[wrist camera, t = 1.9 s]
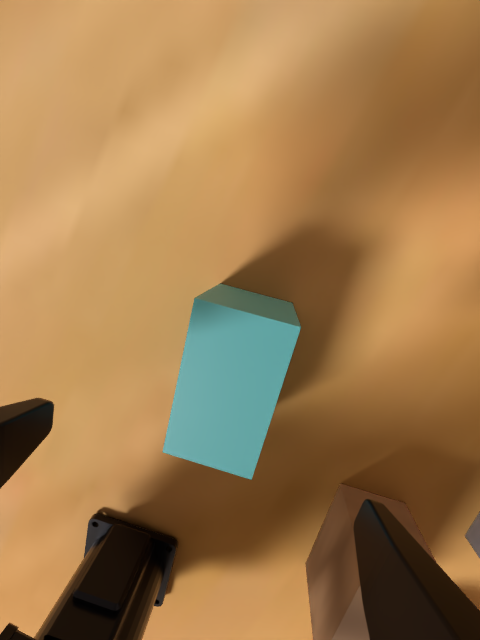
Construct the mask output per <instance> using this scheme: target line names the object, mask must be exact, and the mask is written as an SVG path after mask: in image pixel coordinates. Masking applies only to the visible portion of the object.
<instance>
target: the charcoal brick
mask: <svg viewBox="0 0 480 640" xmlns="http://www.w3.org/2000/svg"><path fill="white" fill-rule="evenodd" d="M465 537H466V539H467V540H468V542H469V543H470V545H471V546H472V548H473V549H474V551H475V552H476V553H477V555H478V556H479V558H480V512H479V514H478V515H477V517H476V518H475V520H474V522H473V523H472V525H471V526H470V528H469V530H468V531H467V533H466V534H465Z"/></svg>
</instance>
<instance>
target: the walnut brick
mask: <svg viewBox="0 0 480 640" xmlns="http://www.w3.org/2000/svg"><path fill="white" fill-rule="evenodd" d="M365 499H372V500H375V501H379V502H381V503H383V504H384V505H385V506H386V507H387V508H388V510H389V511H390V512H391V513H392V514H393V515H394V516H395V517H396V518H397V520H398V521H399V522H400V523H401V524H402V525H403V526H404V527H405V528H406V530H407V531H408V532H409V533H410V534H411V535H412V536H413V537H414V538H415V540H416V541H417V542H418V543H419V544H420V545H421V546H422V547H423V548H424V550H425V551H426V552H427V553H428V554H429V555H430V556H431V557H432V558H433V560H434V561H435V559H434V557H433V555H432V553H431V551H430V550H429V548H428V546H427V544H426V542H425V540H424V538H423V536H422V534H421V532H420V530H419V529H418V527H417V525H416V523H415V521H414V519H413V517H412V515H411V513H410V511H409V509H408V507H407V506H406V504H405V503H403V502H400V501H396V500H393V499H390V498H387V497H383V496H380V495H377V494H374V493H370V492H367V491H364V490H360V489H357V488H354V487H351V486H347V485H344V484H341V483H340V485H339V487H338V490H337V492H336V494H335V497H334V499H333V501H332V503H331V506H330V508H329V510H328V513H327V515H326V517H325V520H324V522H323V524H322V527H321V529H320V531H319V533H318V536H317V538H316V540H315V543H314V545H313V547H312V550H311V552H310V554H309V557H308V559H307V561H306V573H307V583H308V593H309V603H310V613H311V623H312V633H313V640H370V638H369V633H368V628H367V623H366V618H365V613H364V608H363V603H362V596H361V589H360V580H359V572H358V564H357V556H356V548H355V539H354V531H353V526H354V521H355V518H356V516H357V514H358V512H359V510H360V507H361V505H362V503H363V501H364V500H365ZM435 562H436V561H435Z"/></svg>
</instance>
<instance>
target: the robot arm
mask: <svg viewBox="0 0 480 640" xmlns="http://www.w3.org/2000/svg"><path fill="white" fill-rule="evenodd" d="M53 412H54V404H53V402H51V401H49V400H46V399H42V398H35V399H31V400H26V401H22V402H18V403H14V404H10V405H6V406H2V407H0V488H1V487H2V486H3V485H4V484H5V483H6V482H7V481H8V480H9V479H10V477H11V476H12V475H13V474H14V473H15V472H16V471H17V470H18V468H19V467H20V466H21V465H22V464H23V463H24V462H25V460H26V459H27V458H28V457H29V456H30V455H31V454H32V452H33V451H34V450H35V449H36V448H37V447H38V446H39V444H40V443H41V442H42V441H43V440H44V439H45V438H46V437H47V435H48V434H49V433H50V431H51V429H52V425H53ZM353 531H354V539H355V548H356V556H357V564H358V572H359V580H360V589H361V596H362V603H363V608H364V613H365V618H366V623H367V628H368V633H369V638H370V640H480V611H479V610H478V609H477V607H476V606H475V605H474V604H473V603H472V602H471V601H470V600H469V599H468V597H467V596H466V595H465V594H464V593H463V592H462V591H461V590H460V589H459V587H458V586H457V585H456V584H455V583H454V582H453V581H452V580H451V578H450V577H449V576H448V575H447V574H446V573H445V572H444V571H443V570H442V568H441V567H440V566H439V565H438V564H437V563H436V562H435V561H434V560H433V558H432V557H431V556H430V555H429V554H428V553H427V552H426V551H425V550H424V548H423V547H422V546H421V545H420V544H419V543H418V542H417V541H416V540H415V538H414V537H413V536H412V535H411V534H410V533H409V532H408V531H407V530H406V528H405V527H404V526H403V525H402V524H401V523H400V522H399V521H398V520H397V518H396V517H395V516H394V515H393V514H392V513H391V512H390V511H389V510H388V508H387V507H386V506H385V505H384V504H383V503H381V502H379V501H375V500H372V499H365V500H364V501H363V503H362V505H361V507H360V510H359V512H358V514H357V516H356V518H355V521H354V526H353ZM177 546H178V543H177V541H176V540H175V539H173V538H171V537H168V536H165V535H162V534H159V533H156V532H153V531H150V530H146V529H143V528H140V527H137V526H134V525H131V524H128V523H125V522H122V521H119V520H116V519H113V518H110V517H107V516H104V515H101V514H94V515H93V516H92V517H91V519H90V520H89V523H88V531H87V538H86V546H85V554H84V559H83V561H82V562H81V564H80V565H79V567H78V569H77V570H76V572H75V573H74V575H73V577H72V578H71V580H70V581H69V583H68V585H67V586H66V588H65V589H64V591H63V593H62V594H61V596H60V597H59V599H58V601H57V602H56V604H55V605H54V607H53V609H52V610H51V612H50V613H49V615H48V617H47V618H46V620H45V621H44V623H43V625H42V626H41V628H40V629H39V631H38V633H37V634H36V636H35V637H34V638H32V637H30V636H28V635H26V634H24V633H22V632H21V631H19V630H18V627H17V626H15V625H13V624H11V623H9V624H8V625H7V626H6V628H5V629H4V630H3V631H2V633H1V634H0V640H142V638H143V635H144V632H145V629H146V626H147V623H148V620H149V618H150V615H151V612H152V609H153V606H157V607H158V606H161V605H162V604H163V601H164V598H165V594H166V590H167V586H168V582H169V578H170V574H171V570H172V566H173V562H174V558H175V554H176V550H177Z"/></svg>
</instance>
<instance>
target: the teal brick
mask: <svg viewBox="0 0 480 640" xmlns="http://www.w3.org/2000/svg"><path fill="white" fill-rule="evenodd" d="M300 329H301V326H300V323H299V320H298V317H297V314H296V311H295V309H294V306H293V303H291V302H287V301H284V300H280V299H276V298H272V297H269V296H265V295H261V294H258V293H254V292H250V291H246V290H243V289H239V288H235V287H232V286H228V285H224V284H219V285H217V286H215V287H213V288H212V289H210V290H208V291H206V292H204V293H203V294H201V295H199V296H197V297H196V298H195V299H194V303H193V308H192V313H191V318H190V323H189V328H188V332H187V337H186V342H185V347H184V352H183V356H182V361H181V366H180V371H179V376H178V380H177V385H176V390H175V395H174V400H173V405H172V409H171V414H170V419H169V424H168V429H167V433H166V438H165V443H164V448H163V453H166V454H170V455H173V456H176V457H179V458H183V459H186V460H189V461H192V462H196V463H199V464H202V465H205V466H208V467H212V468H215V469H218V470H221V471H225V472H228V473H231V474H234V475H237V476H241V477H244V478H247V479H250V480H252V477H253V474H254V471H255V468H256V465H257V462H258V459H259V455H260V452H261V449H262V446H263V443H264V440H265V437H266V434H267V431H268V428H269V425H270V422H271V418H272V415H273V412H274V409H275V406H276V403H277V400H278V397H279V394H280V391H281V388H282V385H283V381H284V378H285V375H286V372H287V369H288V366H289V363H290V360H291V357H292V354H293V351H294V348H295V344H296V341H297V338H298V335H299V332H300Z"/></svg>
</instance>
